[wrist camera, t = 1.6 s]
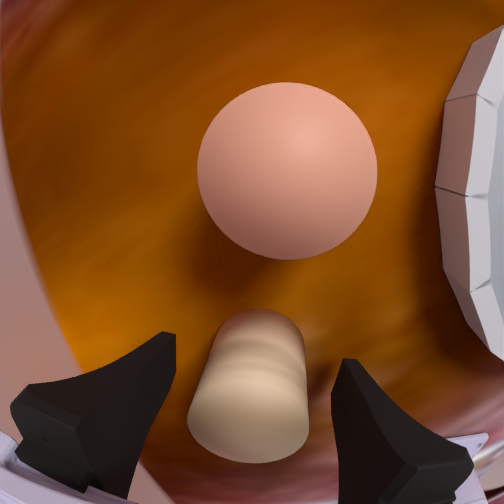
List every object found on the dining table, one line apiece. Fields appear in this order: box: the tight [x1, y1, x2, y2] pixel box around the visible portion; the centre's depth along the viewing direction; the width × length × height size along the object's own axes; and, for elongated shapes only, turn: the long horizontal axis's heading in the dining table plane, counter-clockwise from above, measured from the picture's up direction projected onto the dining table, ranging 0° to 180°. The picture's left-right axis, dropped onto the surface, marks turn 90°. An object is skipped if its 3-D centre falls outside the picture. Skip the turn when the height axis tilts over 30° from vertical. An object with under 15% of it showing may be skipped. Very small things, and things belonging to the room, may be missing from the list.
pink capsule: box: [197, 83, 377, 260], centre depth 9 cm, size 4×4×5 cm
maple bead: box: [187, 309, 309, 463], centre depth 12 cm, size 4×4×5 cm
